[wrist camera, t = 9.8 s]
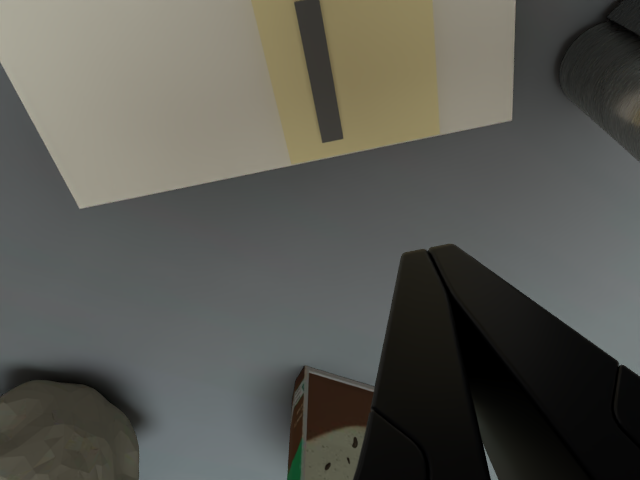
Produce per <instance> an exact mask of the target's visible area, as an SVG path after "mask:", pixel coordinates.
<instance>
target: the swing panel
mask: <svg viewBox="0 0 640 480" xmlns="http://www.w3.org/2000/svg"><path fill="white" fill-rule="evenodd" d="M607 18H608V19H609V20H610V21H609V22H604V23H601V24H598V25H596V26H594V27H592V28H590V29H589V30H587V31H586V32H584V33H583V34H582V35H580V36H579V37H578V38H577V39H576V40H575V41H574V42H573V44H572V45H571V46H570V47H569V49H568V50H567V52H566V54H565V56H564V58H563V60H562V63H561V66H560V71H559V82H560V86H561V89H562V91H563V93H564V94H565V95H566V97H567V98H569V99H570V100H571V101H572V102H573V103H574V104H575V105H576V106H577V107H579V108H580V109H581V110H582V111H583V112H584V113H585V114H586V115H588V116H589V117H590V118H591V119H592V120H593V121H594V122H595V123H596V124H598V125H599V126H600V127H601V128H602V129H603V130H604V131H605V132H606V133H608V134H609V135H610V136H611V137H612V138H613V139H614V140H615V141H617V142H618V143H619V144H620V145H621V146H622V147H623V148H624V149H625V150H627V151H628V152H629V153H630V154H631V155H632V156H633V157H634V158H636V159H637V160H638V161H639V162H640V0H623V1H622V2H621V3H620V4H619V5H618V6H617V7H616V8H615V9H614V10H613V11H612V12H611V13H610V14H609V15H608V16H607Z"/></svg>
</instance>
